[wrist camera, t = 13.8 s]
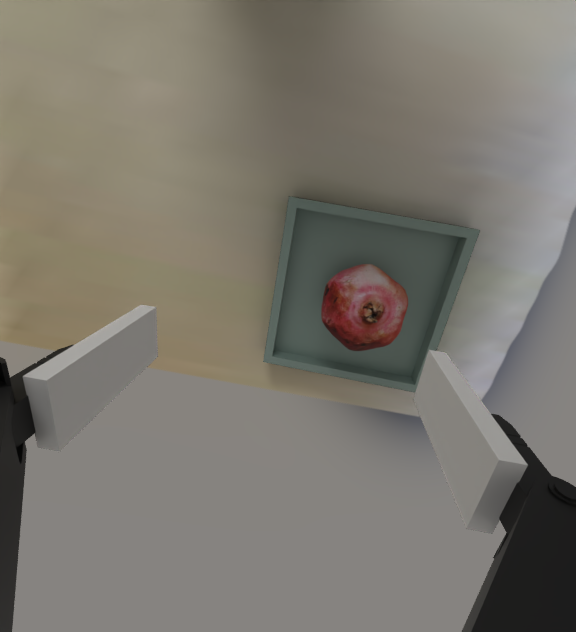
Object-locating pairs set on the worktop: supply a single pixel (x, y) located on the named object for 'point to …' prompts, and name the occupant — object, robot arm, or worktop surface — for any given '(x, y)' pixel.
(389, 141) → the worktop surface
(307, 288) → the tray
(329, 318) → the fruit
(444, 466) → the robot arm
